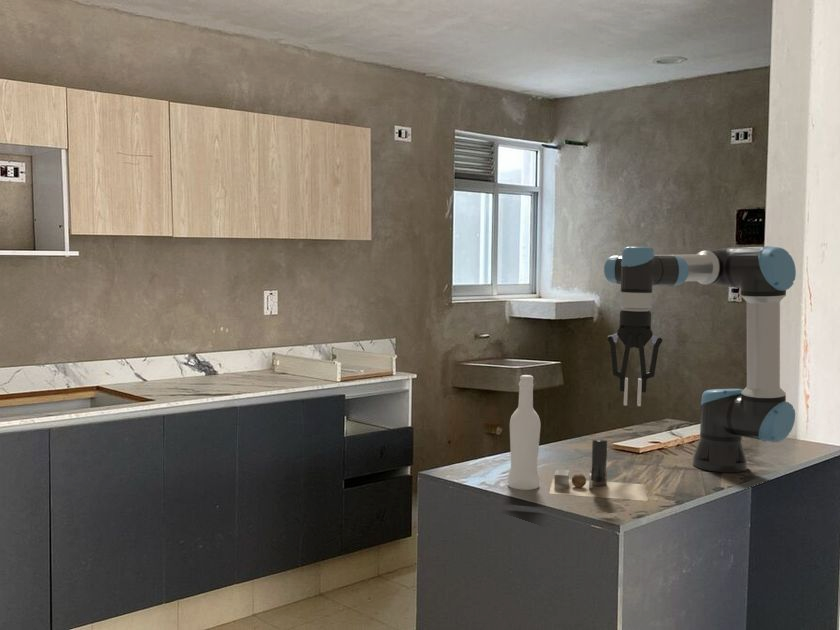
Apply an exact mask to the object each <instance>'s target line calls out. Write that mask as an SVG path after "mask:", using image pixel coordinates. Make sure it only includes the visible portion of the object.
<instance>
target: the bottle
mask: <svg viewBox="0 0 840 630" xmlns="http://www.w3.org/2000/svg"><path fill="white" fill-rule="evenodd" d="M519 379H520V380H519V382H518V386H519V389H518V406H517V408H516V409H515V410H514V412H513V413H512V414H511V417H510V420H509V442H510V443H509V445H510V446H509V447H510V470H509V472H508V476H507V485H508V487H509V488H512V489H515V490H516V489H517V490H522V491H523V490H525V491H526V490H527V491H528V490H529V491H530V490H535V489H538V488H539V487H540V475H539V471H538V460H539V459H538V458H539V451H540V450H539V448H540V447H539V445H540V438H541V437H540V435H541V423H542V422H541V420H540V417H539V416H540V415H538V413H537V411H536V410H535V409H534V386H535V385H534V380H535V379H534V376H533V375H531V374H522V375H520V376H519Z"/></svg>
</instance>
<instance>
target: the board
mask: <svg viewBox="0 0 840 630" xmlns="http://www.w3.org/2000/svg"><path fill="white" fill-rule="evenodd" d="M591 470H592V468H591V469H589V474H590V473H591ZM548 493H549V495H563V496H575V497H591V498H601V499H602V498H603V499H614V500H615V499H616V500H617V499H618V500H629V501H631V500H632V501H643V502H648V501H649V499H648V495H647V489H646V485H645V484H644V483H643V484H642V483H629V482H616V481H615V482H614V481H608V470H606V481H605V482H595V481H592V488H589V479H588V480H587V479H586V484H585V485H584V486H583V487H581V488H578V487H575V486H574V485H573V483H572V478H570V470H569V469H555V472H554V477H552V479H551V484H550V488H549V492H548Z"/></svg>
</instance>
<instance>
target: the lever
mask: <svg viewBox="0 0 840 630" xmlns="http://www.w3.org/2000/svg"><path fill="white" fill-rule="evenodd" d="M607 457H608V440H607V439H601V438H595V439H592V445H591V469H592V470H591V469H590V470H591V473H590V472H589V474H588V475H589V477H588V478H589V479H588V480H589V488H592V481H595V482H605V481H606V471H607V460H608V459H607Z"/></svg>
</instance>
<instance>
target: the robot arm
mask: <svg viewBox="0 0 840 630" xmlns="http://www.w3.org/2000/svg"><path fill="white" fill-rule="evenodd" d="M796 270H797V269H796V265H795V261H794V259H793V257H792V255H791V254H790V253H789V252H788V251H787V250H786V249H784V248H783V247H779V246H778V247H777V246H770V245H769V246H768V245H767V246H731V247H724V248H718V249H717V248H716V249H712V250H711V249H710V250H709V249H708V250H701V251H699V252H697V253H695V254H692V253H691V254H690V253H689V254H682V253H681V254H655V253H654V248H652V246H625V247H624V248H623V249H622V254H618V255H611V256H610V257H608V258H607V259H606V260H605V263H604V266H603V274H604V277H605V278H606V280H607V281H608V282H609V283H611V284H617V285H620V295H619V296H620V297H619V298H620V299H619V301H620V302H619V307H620V308H621V309H622V310H620V311H619V320H618V321H619V324H618V325H619V327H618V329H617V331H616V333H614V334H611V335H607V338H606V339H607V341H608V343H609V345H610V354H611V355H610V356H611V358H610V359H611V366H612V368H611V369H612V375H613V376H615V377H617V378H619V391H620V392H623V406H625V407H626V406H628V393H629V392H628V391H629V390H628V389H629V378H628V377H626V373H627V368H628V362H629V355H630V351H631V349H632V348H636V349H638V357H639V367H640V377H639V378H637V396H636V397H637V398H636V400H637V401H636V405H637V407H641V406H642V393H646V392H647V382H648V381H647V380H648V379H650V378H654V377H655V373H656V368H657V361H658V355H659V354H658V353H659V347H660V346H661V344H662V343H663V339H662V337H660V336H657V335H656V334H654V332H653V331H652V312H651V311H650V310H651V309H652V307H653V306H652V304H653V286H661V287H662V286H664V287H665V286H666V287H667V286H668V287H674V286H679V285H680V286H681V285H682V284H684V283H685V282H698V283H699V284H700V285H712V286H713V285H714V286H721V287H726V288H734V289H735V288H736V289H740V297H741V298H742V299H743V300H745V302H746V387H745V388H744V389H742V388H715V389H707V390H704V391H703V393H702V395H701V402H700V425H699V427H700V429H699V432H700V433H699V441H698V442H697V446H696V448H695V451H694V453H693V456H692V465H693V466H694V467H696V468H698V469H700V470H704V471H705V470H706V471H711V472H718V473H741V472H746V471H747V470H748V461H747V457H746V454H745V449H744V446H743V442H742V441H743V440H742V439H743V437H745V438H749V439H754V440H758V441H761V442H770V443H779V442H783V441H784V440H785V439H786V438H788V436H789V435H790V433H791V432H792V430H793V428H794V425H795V420H796V410H795V408H794V406H793V404H791V403H790V402H789V401H786V400H787V398H786V397H787V395H786V392H785V391H784V390H783V389H782V388H781V383H780V382H781V381H780V380H781V373H780V372H781V347H780V346H781V301H782V300H783V299H784V298H785V297H787V290H789V289H791V287H793V285H794V281H796V275H797V271H796ZM618 338H619V340H620V341H621V342H622V344H623V345H624V349H623V356H622V361H621V366H620V371H619V370H618V358H617V349H616V347H617V346H616V343H617V342H618ZM650 340H651V343H652V350H651V351H652V352H651V357H650V364H649V369H648V372H647V366H646V356H645V346H646V345H647V344H648V342H649V341H650Z"/></svg>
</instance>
